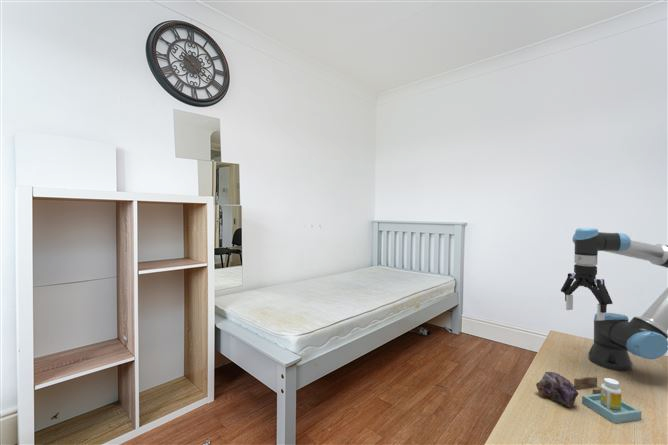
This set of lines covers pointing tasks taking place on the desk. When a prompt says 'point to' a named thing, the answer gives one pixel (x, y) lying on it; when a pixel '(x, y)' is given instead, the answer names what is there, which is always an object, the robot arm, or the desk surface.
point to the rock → (557, 389)
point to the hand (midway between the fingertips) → (584, 314)
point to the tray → (616, 417)
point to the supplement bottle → (611, 395)
